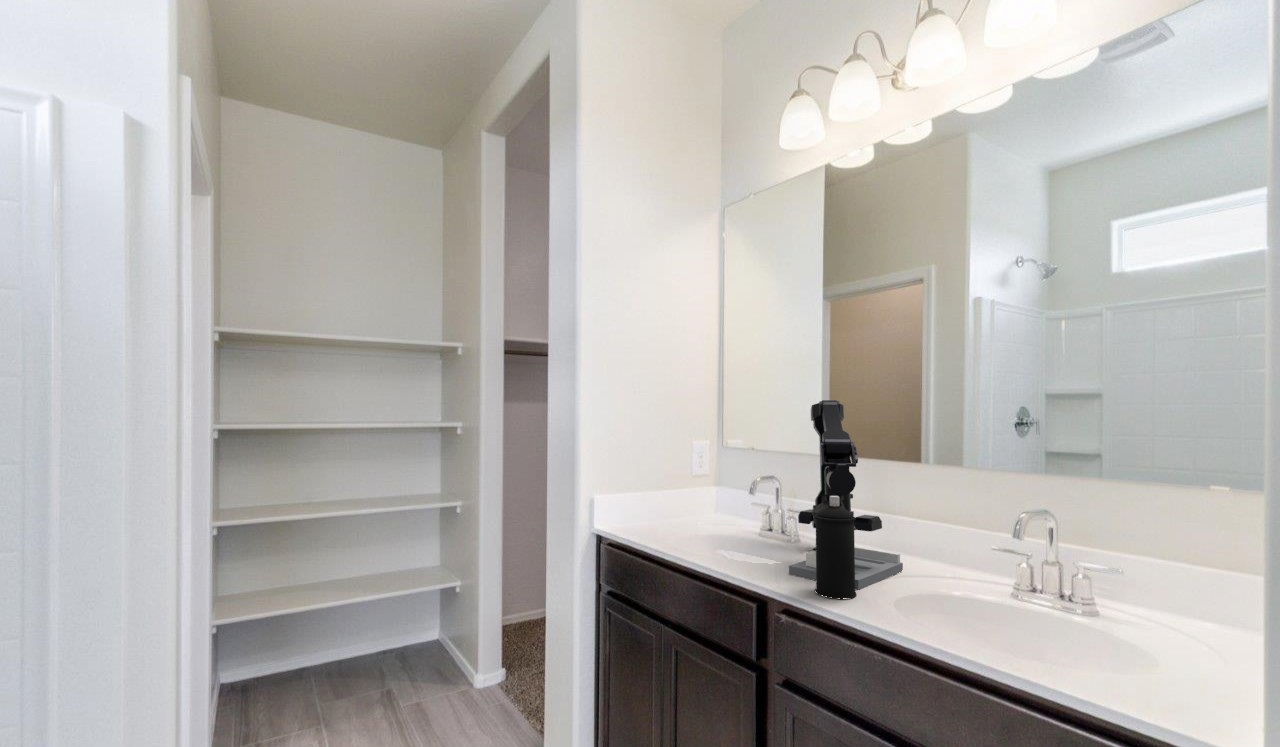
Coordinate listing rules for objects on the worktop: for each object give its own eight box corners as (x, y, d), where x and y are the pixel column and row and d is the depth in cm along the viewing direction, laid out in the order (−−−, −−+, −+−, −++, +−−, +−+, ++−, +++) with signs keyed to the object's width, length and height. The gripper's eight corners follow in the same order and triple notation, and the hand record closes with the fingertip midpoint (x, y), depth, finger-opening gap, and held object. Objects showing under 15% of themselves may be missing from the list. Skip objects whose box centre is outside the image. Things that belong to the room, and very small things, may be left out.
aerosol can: (859, 600, 126) (857, 499, 127) (816, 598, 127) (815, 498, 128) (853, 589, 134) (852, 494, 135) (813, 587, 135) (812, 493, 137)
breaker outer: (813, 563, 147) (813, 550, 148) (824, 565, 145) (824, 552, 145) (805, 565, 145) (805, 552, 145) (817, 568, 143) (817, 554, 143)
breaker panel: (836, 558, 161) (836, 542, 161) (902, 571, 149) (902, 554, 149) (788, 574, 146) (788, 556, 146) (858, 589, 133) (858, 570, 134)
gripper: (784, 490, 150) (786, 556, 149) (858, 496, 137) (861, 569, 136) (809, 486, 158) (811, 549, 157) (881, 491, 145) (884, 560, 144)
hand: (840, 557), depth 148 cm, fingers closed
